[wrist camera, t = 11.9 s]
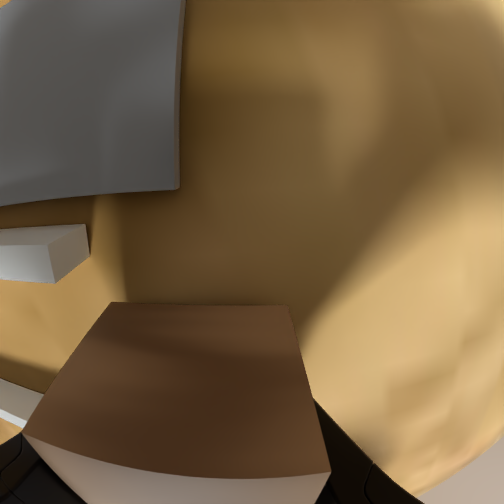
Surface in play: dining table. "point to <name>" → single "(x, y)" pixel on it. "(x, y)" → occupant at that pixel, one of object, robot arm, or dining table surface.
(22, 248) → the channel
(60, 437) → the walnut block
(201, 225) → the dining table surface
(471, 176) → the dining table surface
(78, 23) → the slate coaster
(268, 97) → the dining table surface
